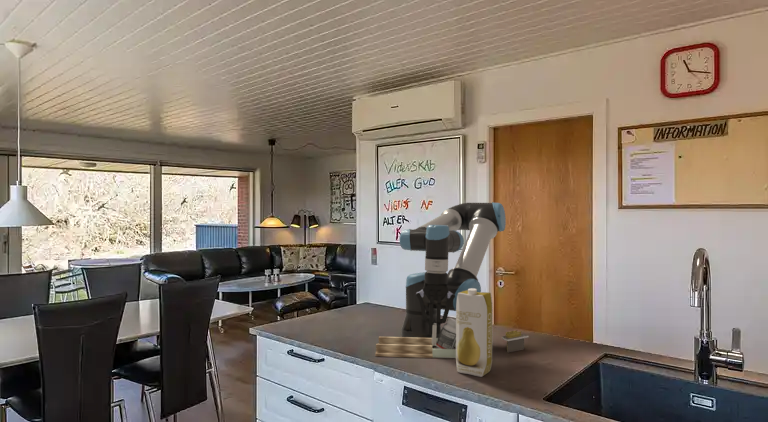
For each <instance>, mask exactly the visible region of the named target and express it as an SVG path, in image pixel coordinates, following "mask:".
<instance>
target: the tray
mask: <svg viewBox="0 0 768 422" xmlns="http://www.w3.org/2000/svg"><path fill="white" fill-rule="evenodd" d="M437 340H438V338H436V343H437ZM432 347H437V346H436V345H432ZM454 347H455V348H453V349H439V348H432V354H433V358H439V359H443V358H446V359H456V343H455V346H454Z"/></svg>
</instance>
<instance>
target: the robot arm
mask: <svg viewBox="0 0 768 422" xmlns="http://www.w3.org/2000/svg"><path fill="white" fill-rule="evenodd" d="M506 220H507V219H506V213H505V208H504V205H503V204H502V203H500V202H495V201H494V202H493V201H492V202H463V203H458V204H456V205H453V206H450V207H449V208H447V209H445V210H443V211H442V213H441V214H440V215H439V216H437V217H435V218H433V219H432V220H430V221H428V222H426V223H425V224H422V225H420V226H418V227H417V228H414V229H411V228H409V229H403V230H401V232H400V234H399V245H400V247H401V249H403V250H405V251H410V252H412V251H414V252H425V256H424V257H425V258H424V270H425V272H416V273H412V274H409V275H407V277H406V278H405V279H406V281H405V316H404V320H403V322H402V324H401V325H402V326H401V328H400V337H417V338H432V345H436V338H439V335H440V333H441V330H442V328H443V327H442V326H441V324H447V319H448V317H449V316H448V315H449V312H450V311H451V312H456V302H457V296H458V293H460V292H462V291H466V290H468V289H471V288H475V289H477V292H482V288H481V287H482V286H481V284H480V282H479V279H478V277H477V276H478V274H479V272H480V268H481V266H482V263H483V260H484V257H485V255H486V252H487V249H488V247H489V244H490V242H491V240H492V239H494V238H495V237H496V236H497V234H498V232H499V233H500V232H504V231H505V229H506V225H507V222H506ZM459 231H469V233H468V235H467V238H466V239H465V240H464V236H463V234H462V233H461V232H459ZM460 250H461V251H460ZM459 251H460V255H459V257H458V259H457V260H456V264H455V266H454V267H453V268H450V269H449V253H453V254H454V253H456V252H459ZM442 310H443V311H444V312H443V314H442V317H441V313H442Z"/></svg>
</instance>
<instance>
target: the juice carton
mask: <svg viewBox="0 0 768 422" xmlns="http://www.w3.org/2000/svg"><path fill="white" fill-rule="evenodd" d="M492 298H493V297H492V293H491V292H482V291H481V292H477V289H475V288H471V289H468V290H466V291H462V292H460V293H458V296H457V302H456V311H455V313H456V314H455V315H456V316H455V320H456V347H455V349H456V358H455V362H456V371H457V372H458V373H460V374H464V375H465V374H466V375H470V376H474V377H479V378H482V377H485V376H486V375H487V374H488V373H489V372H490V371H491V369H492V364H493V299H492Z"/></svg>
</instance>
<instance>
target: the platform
mask: <svg viewBox="0 0 768 422" xmlns="http://www.w3.org/2000/svg"><path fill="white" fill-rule="evenodd" d="M526 338H529V335H528V334H522V331H521V330H520V331H518V329H517V330H510V331H506V332H505V335H503V336H501V339H502V340H504V341H506V351H507V353H508V354H509V353H512V352H517V351H521V350H525V339H526Z"/></svg>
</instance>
